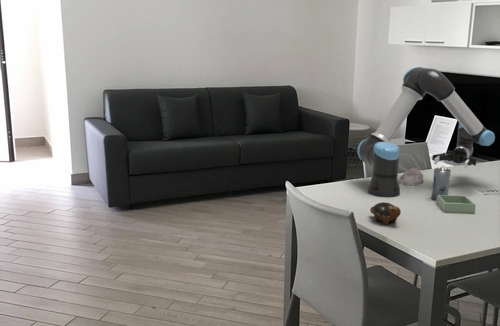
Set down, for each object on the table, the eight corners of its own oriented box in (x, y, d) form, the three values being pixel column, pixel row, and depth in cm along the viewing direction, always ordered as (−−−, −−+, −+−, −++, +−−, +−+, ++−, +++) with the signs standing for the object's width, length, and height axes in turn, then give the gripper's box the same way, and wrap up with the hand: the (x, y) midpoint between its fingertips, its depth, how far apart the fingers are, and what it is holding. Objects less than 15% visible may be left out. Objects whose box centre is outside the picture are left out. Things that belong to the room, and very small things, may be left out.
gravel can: (433, 201, 242) (437, 168, 239) (429, 196, 249) (432, 164, 245) (449, 201, 242) (452, 168, 238) (444, 197, 248) (448, 165, 245)
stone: (405, 196, 268) (420, 185, 263) (392, 181, 270) (407, 169, 265) (414, 188, 282) (429, 178, 277) (402, 174, 284) (417, 162, 279)
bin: (444, 212, 227) (445, 203, 226) (436, 203, 239) (437, 194, 238) (474, 213, 226) (475, 204, 225) (464, 204, 238) (465, 195, 237)
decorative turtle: (392, 229, 206) (392, 209, 204) (362, 221, 218) (362, 202, 216) (408, 223, 211) (408, 204, 210) (378, 215, 224) (378, 197, 222)
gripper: (485, 165, 262) (477, 174, 245) (433, 159, 276) (422, 167, 258) (487, 150, 261) (479, 158, 243) (435, 144, 274) (423, 152, 256)
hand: (450, 163), depth 251 cm, fingers open, 13 cm apart
